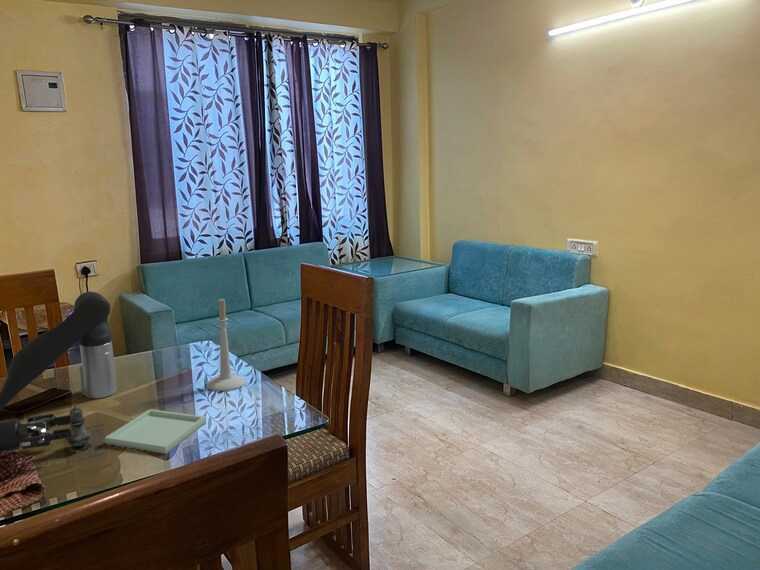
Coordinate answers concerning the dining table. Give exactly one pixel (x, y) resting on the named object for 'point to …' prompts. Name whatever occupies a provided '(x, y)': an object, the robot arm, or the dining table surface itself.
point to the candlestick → (224, 360)
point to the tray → (156, 431)
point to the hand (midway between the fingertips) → (71, 425)
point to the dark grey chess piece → (78, 431)
